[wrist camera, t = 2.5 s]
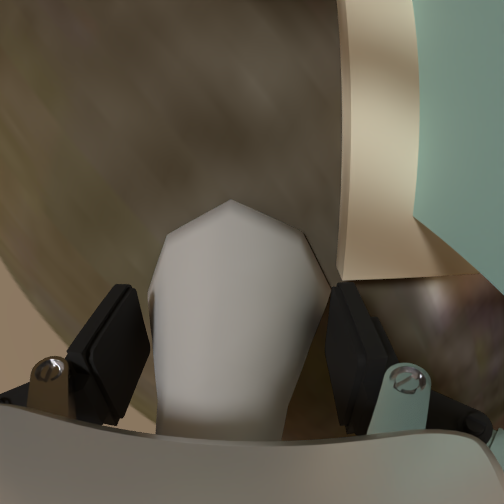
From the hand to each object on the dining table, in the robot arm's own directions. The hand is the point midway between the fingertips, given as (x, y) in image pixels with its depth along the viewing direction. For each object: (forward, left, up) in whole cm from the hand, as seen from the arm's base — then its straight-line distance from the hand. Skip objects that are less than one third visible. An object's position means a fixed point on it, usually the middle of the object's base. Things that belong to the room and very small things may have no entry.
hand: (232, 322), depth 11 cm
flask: (0, 0, -3) cm, 3 cm away
